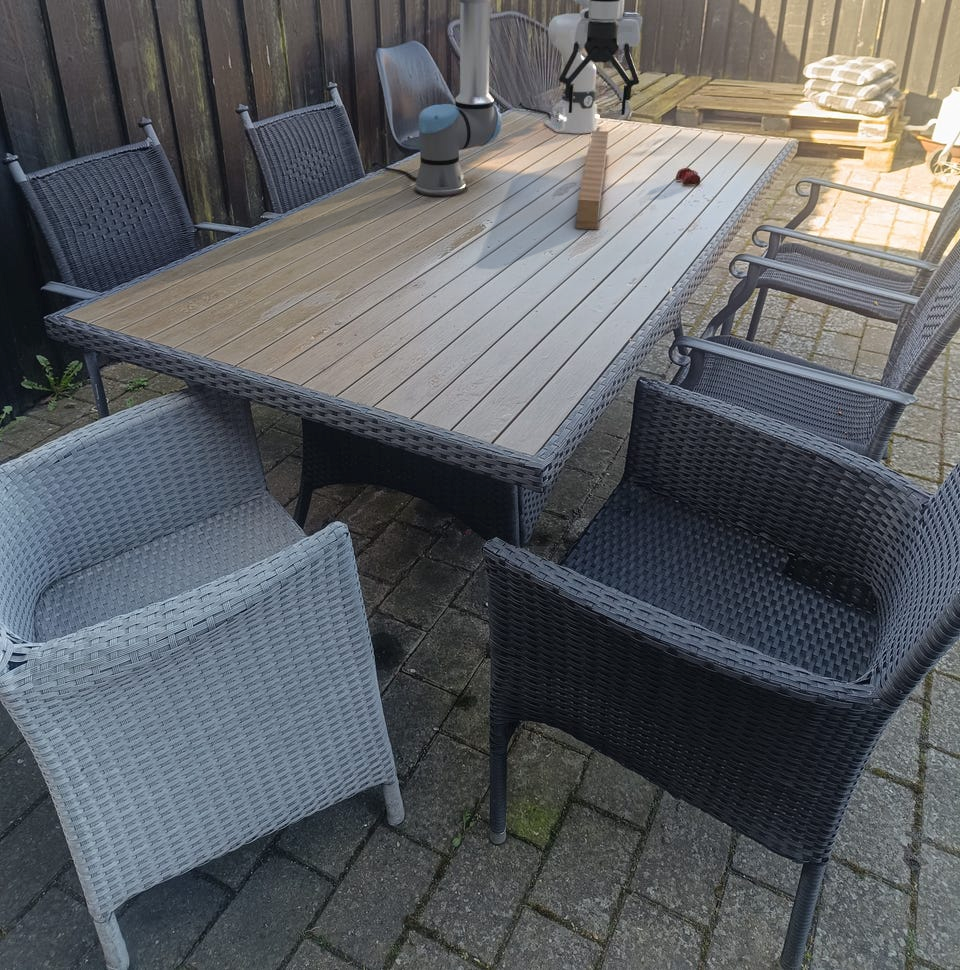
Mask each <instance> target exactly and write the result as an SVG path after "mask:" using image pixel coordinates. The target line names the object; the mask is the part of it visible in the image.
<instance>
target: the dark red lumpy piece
mask: <svg viewBox="0 0 960 970" xmlns="http://www.w3.org/2000/svg"><path fill="white" fill-rule="evenodd" d="M675 181H682V182H681V183H682V185H683V186H689V185H690V186H691V185H700V184H701V176H700V175H699V172H698V171H696V170H693V169H691V168H689V167H683V168H681V169H679V170H678V171H677V172H676V175H675Z"/></svg>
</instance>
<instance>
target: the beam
mask: <svg viewBox="0 0 960 970" xmlns="http://www.w3.org/2000/svg"><path fill="white" fill-rule="evenodd" d="M608 140H609V131H608V130H607V131H603V130H596V131H592V132H591V133H590V137H589V142H588V143H589V144H588V148H587V153H586V159H585V164H584V169H583V173H582V179H581V183H580V189H579V194H578V200H577V213H576V229H578V230H579V229H580V230H598V225H599V215H600V210H601V209H600V208H601V200H602V193H603V185H604V177H605V169H606V161H607V151H608Z"/></svg>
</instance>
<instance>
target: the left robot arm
mask: <svg viewBox="0 0 960 970" xmlns="http://www.w3.org/2000/svg"><path fill="white" fill-rule="evenodd" d="M458 1H459V75H460V76H459V89H460V90H459V93H458V95H457V96H456V97H455V100H454V104H453V103H452V104H451V103H441V104H434V105H430V106H428V107H426V108H424V109H422V110H421V111H420V112H419V116H418V132H419V133H418V134H419V157H420V158H419V159H420V161H419V162H420V164H419V168H418V172H417V176H416V177H415V176H414V175H412V174H411V173H410V172H408V171H406V170H402V169H398V168H393V167H392V168H391V167H388V166H385V165H384V164H382V163H381V162H378V161H375V162H373V163H372V164H371V167H375V166H376V165H378V166H379V167H381V168H383V169H384V170H387V171H390V172H395V173H401V174H404V175H406V176H408V177H409V178H410V179H412V180H414V181H415V183H414V184H415V185H414V186H415V192H417V193H418V194H420V195H424V196H430V197H450V196H455V195H459V194H461V193H463V192H464V191H466V181H465V179H464V178H465V176H464V173H463V172H462V169H461V165H460V151H462V150H467V149H471V148H476V147H484V146H486V145H489V144H491V143H493V142H494V141H495V140H496V139H497V138H498V137H499V134H500V132H501V128H502V122H503V121H502V114H501V112H500V108H499V107H498V105H497V104H495V98H494V97H493V96H492V95H491V94H490V48H491V47H490V45H491V44H490V41H491V39H490V37H491V36H490V35H491V2H492V0H458ZM620 2H621V0H589V15H588V17H589V19H591V20H590V21H589V22H588V30H587V41H586V43H581V42H579V41H575V43H574V48H573V52H572V54H571V56H570V58H569V60H568V62H567V64H566V66H565V65H564V68H563V70H562V72H561V74H560V76H559V78H558V81H559V83H562V84H564V86H565V87H566V91H565V97H566V98H569V113H572V105H573V88H574V84H571V82H572V81H573V80H574V79H575V78H576V77H577V75H578V74H579V73H580V72H581V71H582V70H583V68H584V67H585V66H586V65H587V64H588V63H589V62H590V60H592V62H593V63H594V64H595V63H603V64H607V63H608V62H610V63H611V65H612V66H613V67H614V69H615V70H616V71H617V73H618V74H619V76H620V77H621V79H622V80H623V82H624V83H625V85H623V93H622V104H621V116H624V115H625V113H626V103H627V101H630V100H631V96H632V88H633V87H634V86H636V85H639V84H640V77H639V74H638V72H637V69H636V66H635V64H634V63H635V62H634V60H633V57H632V55H631V51H630V46H629V42H626V43H623V44H618V42H617V38H618V26H619V23H618V21H617V19H618V18H619V13H620ZM583 49H584V50H585V52H586V54H587V55H586V56H584V57H585V59H584V60H583V61H582V62H581V63H580V65H579V66H578V67H577V68H576V69H575V71H574V72H573V73H572V74H571V75H570V76H569V78H566V75H567V73H568V71H569V69H570V67H571V65H572V63H573V61H574V59H575V57H576V55H577V53H578V52H580V51H581V50H583ZM619 50H620V52H621V54H622V53H625V54H624V57H625V61H626V63H627V67H628V68H629V72H630V75H631V77H632V79H631V77H630V76H629V75H628V74H627V72H626V71H625V69H624V67H623V66H622V65H621V62H618V59H617V57H616V55H615V54H616V53H617V52H618V51H619Z"/></svg>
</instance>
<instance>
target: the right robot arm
mask: <svg viewBox="0 0 960 970" xmlns="http://www.w3.org/2000/svg"><path fill="white" fill-rule="evenodd" d="M573 2H575V3H578V4H579V5H580V6H581V7H582V8H583V9H581V10H580V12H579V13H577V12H576V13H563V14H559V15H555V16H553V17H552V19H551V21H550V22H549V24H548V28H547V36H548V39H549V42H550V43H551V45H552V46H553V47H554V48H555V49H556V50H557V51H558V52H559V53H560V55H561V57H562V59H563V63H564V67H565V66H566V64H567V62H568V60H569V58H570V56H571V54H572V52H573V48H574V43H575V41H579V42H581V43H586V41H587V30H588V22H589V21H590V20H591V19H589V17H588V15H589V0H573ZM617 21H618V23H619V26H618V38H617V42H618V44H623V43H626V42H629V47H637V46H638V45H639V44H640V36H641V34H640V31H641V30H640V29H641V28H642V26H643V16H642V15H641V14H640V13H639V12H635V11H634V12H630V11H625V0H621V2H620V13H619V18H618V19H617ZM582 50H583V49H582ZM582 50H581V51H580V52H578V53H577V55H576V57H575V59H574V61H573V63H572V65H571V67H570V69H569V71H568V73H567V75H566V78H569V76H570V75H571V74H572V73H573V72H574V71H575V69H576V68H577V67H578V66H579V65H580V63H581V62H582V61H583V60H584V59H585V57H586V56H583V53H582ZM624 57H625V53H622V52H621V54H619V55H618V59H617V60H618V62H619V63H623V62H624ZM596 81H597V66H596V64H595V63H594V62H593V61H592V60H590V62H589V63H588V64H587V65H586V66H585V67H584V68H583V70H582V71H581V72H580V73H579V74H578V75H577V77H576V78H575V79H574V80H573V81H572V82H571V84H574V88H573V105H572V113H569V98H566V97H565V91H566V86H565V88H563V91H561V94H562V96H561V100H560V101H558V103H556V104H555V105H554V106H553V107H552V109H551V112H549V111H546V110H540V109H536V108H531V107H527V106H525V105H524V103H523V101H520V102H519V104H518V106H519V107H521V108H522V110H523V109H524V110H526V111H530V112H534V113H539V114H543V115H544V114H545V115H548V117H549V119H547V120H545V121H544V123H543V124H544V125H545V126H546V127H548V128H549V129H551V130H552V131H554V132H556V133H562V134H563V133H564V134H565V133H566V134H580V135H581V134H591V132H592V131H598V130H597V129H598V128H600V125H599V123H598V119H599V118H600V114H598V104H596V99H597V89H596Z"/></svg>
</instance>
